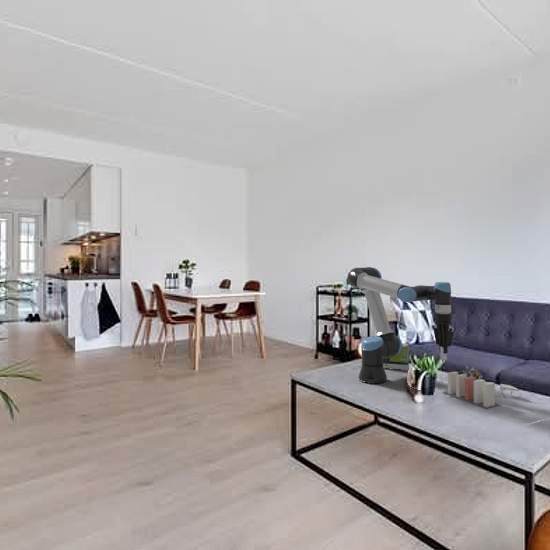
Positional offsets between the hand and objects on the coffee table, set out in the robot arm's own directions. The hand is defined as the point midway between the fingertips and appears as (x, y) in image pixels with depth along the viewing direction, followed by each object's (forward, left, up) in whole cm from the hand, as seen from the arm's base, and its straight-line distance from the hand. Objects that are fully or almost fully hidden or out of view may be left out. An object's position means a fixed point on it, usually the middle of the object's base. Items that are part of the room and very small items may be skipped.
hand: (443, 359), depth 202 cm
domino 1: (+6, 0, -15) cm, 16 cm away
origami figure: (+22, +19, -16) cm, 33 cm away
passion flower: (0, +19, -16) cm, 25 cm away
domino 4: (+21, 0, -15) cm, 26 cm away
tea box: (-44, +7, -16) cm, 48 cm away
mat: (+16, 0, -16) cm, 22 cm away
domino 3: (+16, 0, -15) cm, 22 cm away
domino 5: (+26, 0, -15) cm, 30 cm away
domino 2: (+11, 0, -15) cm, 19 cm away
